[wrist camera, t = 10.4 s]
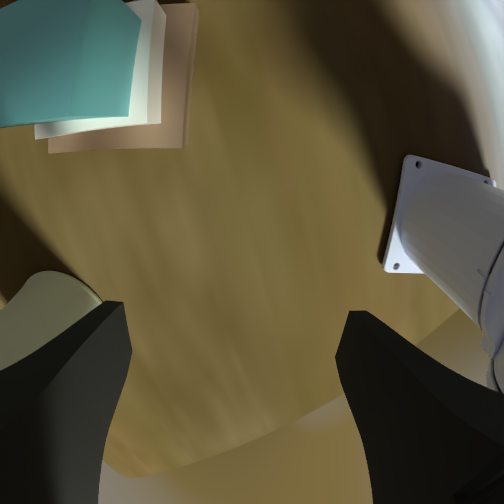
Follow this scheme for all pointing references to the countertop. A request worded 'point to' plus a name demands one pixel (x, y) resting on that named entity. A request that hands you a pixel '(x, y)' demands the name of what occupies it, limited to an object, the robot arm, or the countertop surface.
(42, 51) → the teal block
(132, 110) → the white block
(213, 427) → the countertop surface
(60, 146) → the walnut slab
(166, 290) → the countertop surface
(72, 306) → the can
